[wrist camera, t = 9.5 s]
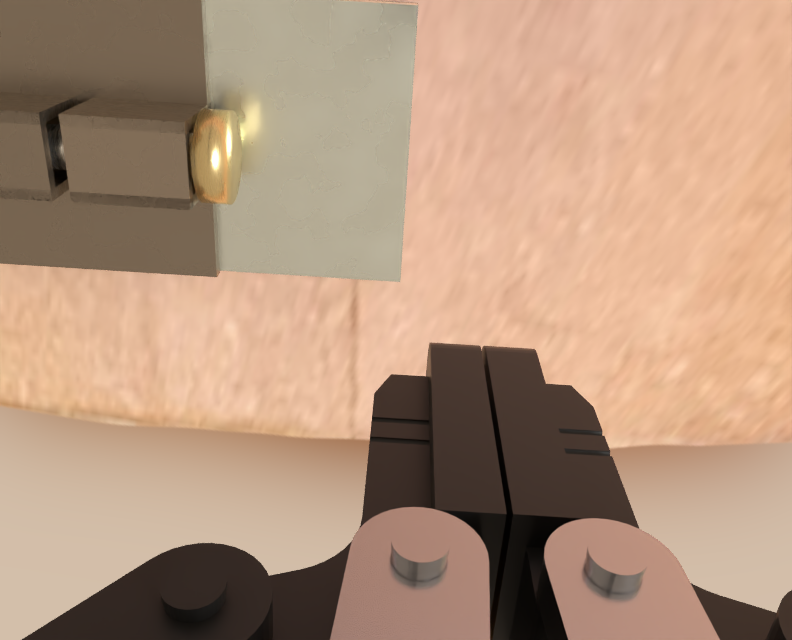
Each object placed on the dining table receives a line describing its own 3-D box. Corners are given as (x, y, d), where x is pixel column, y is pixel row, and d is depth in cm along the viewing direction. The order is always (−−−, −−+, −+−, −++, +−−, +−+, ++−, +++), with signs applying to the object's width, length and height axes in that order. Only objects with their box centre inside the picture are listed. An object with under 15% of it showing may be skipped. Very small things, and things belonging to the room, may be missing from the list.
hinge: (-39, -28, 41) (-120, -23, 35) (418, 1, 41) (418, 11, 35) (13, 249, 48) (-46, 293, 42) (400, 273, 48) (398, 321, 42)
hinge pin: (-39, 84, 41) (-94, 101, 37) (240, 101, 41) (218, 120, 37) (-21, 172, 44) (-71, 198, 39) (243, 189, 44) (223, 217, 39)
